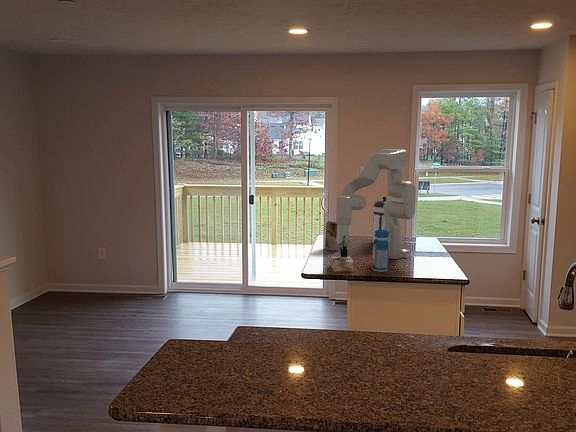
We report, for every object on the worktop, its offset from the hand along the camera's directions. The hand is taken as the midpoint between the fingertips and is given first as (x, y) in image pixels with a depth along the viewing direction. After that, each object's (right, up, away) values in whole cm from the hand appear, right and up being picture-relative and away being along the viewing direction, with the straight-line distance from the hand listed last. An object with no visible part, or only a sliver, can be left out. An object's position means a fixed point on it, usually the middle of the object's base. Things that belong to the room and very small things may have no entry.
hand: (342, 254), depth 254 cm
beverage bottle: (+19, -8, 0) cm, 20 cm away
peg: (0, -7, +1) cm, 7 cm away
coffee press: (+30, +1, +58) cm, 65 cm away
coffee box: (0, 0, +44) cm, 44 cm away
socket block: (0, -7, +1) cm, 7 cm away
